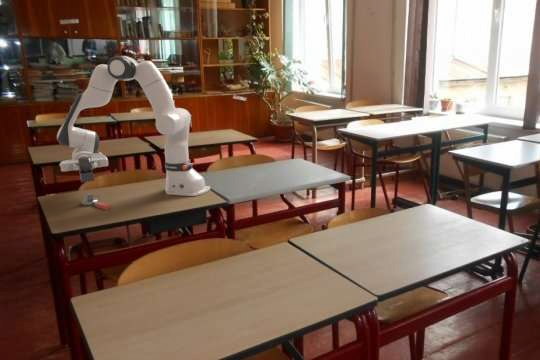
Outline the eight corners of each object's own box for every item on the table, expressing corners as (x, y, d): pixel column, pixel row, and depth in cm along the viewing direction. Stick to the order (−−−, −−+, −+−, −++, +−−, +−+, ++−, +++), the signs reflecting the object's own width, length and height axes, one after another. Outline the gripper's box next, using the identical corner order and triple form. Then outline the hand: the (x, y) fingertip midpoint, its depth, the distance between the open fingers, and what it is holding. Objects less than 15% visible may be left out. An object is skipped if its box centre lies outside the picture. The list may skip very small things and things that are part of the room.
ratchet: (79, 204, 214) (77, 194, 212) (92, 200, 219) (91, 190, 218) (102, 211, 203) (100, 201, 202) (115, 206, 209) (114, 197, 208)
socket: (80, 179, 213) (77, 157, 210) (92, 177, 215) (90, 156, 212) (81, 182, 208) (78, 160, 205) (94, 180, 210) (91, 158, 207)
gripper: (58, 157, 216) (59, 163, 204) (105, 151, 224) (108, 157, 212) (60, 170, 218) (61, 177, 206) (106, 164, 226) (110, 171, 214)
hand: (85, 167), depth 209 cm, fingers closed on socket, 5 cm apart
